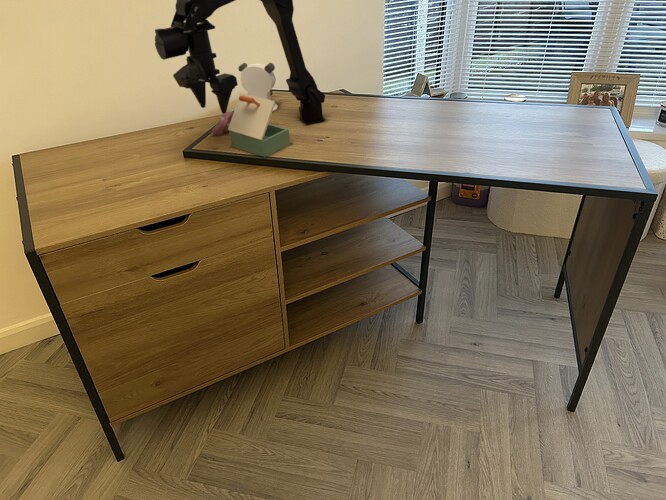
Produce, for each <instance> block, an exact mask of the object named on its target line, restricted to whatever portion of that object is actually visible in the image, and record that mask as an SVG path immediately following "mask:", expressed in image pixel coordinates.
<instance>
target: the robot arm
mask: <svg viewBox="0 0 666 500" xmlns="http://www.w3.org/2000/svg"><path fill="white" fill-rule="evenodd" d="M235 1H236V0H176V2H175V12H174V14H173V18H172V21H171V24H170V27H164V28H155V29H154V33H155V36H154V46H155V50H156V51H157V52H156V53H157V54H158V56H159V57H160V59H161V60H162V61H164V60H168V59H173V58H177V57H182V56H185V55H186V54H187V52H188V55H187V56H186V59H185V60H186V64H185V65H184V66H182V67H180V69H178V70H176V72H174V73H173V75H172V77H173V78H174V80H175V81H176V84H177V85H178V87H180V88H184V89H190V91H191V92H192V94H193V95H194V97H195V99H196V100H197V102H198V104H199V106H200V108H202V109H204V108H206V105H207V94H206V92H207V91H206V90H207V88H206V85H207V84H206V83H209V87H210V89H211V90H210V92H211V93H212V94H214V95H215V97H216V99H217V102H218V106H219V109H220V111H221V114H222V115H223V114H224V113H226V112H228V111H227V110H228V106H229V103H230V99H231V96H232V93H233V90H234V89H236V87H237V86H238V85H239V84H238V80H237V77H236V76H235V75H234V74H230V73H225V72H224V73H221V71H220V69H218V68H216V63H215V58H217V53H216V52H213V49H212V45H211V41H210V36H209V31H211V30H215V29H216V26H215V25H214V24H213V23H211V22H210V21H209V20H208V18H210V17H211V16H212V15H213V14H214V13H215V12H216V11H217V10H218V9H220V8H222V7H224V6H226V5H229V4H231V3H233V2H235ZM259 1H260V2H261V4H262V5H263V8H264V9H265V12H266V14H267V15H268V16H269V18H270V19H271V21H272V22H273V23H274V25H275V27H276V30H277V33H278V36H279V39H280V43H281V46H282V49H283V52H284V56H285V59H286V63H287V65H288V69H289V73H290V74H289V78H286V79H285V81H286V82H285V83H286V85H287V86H288V92H290V93H291V95H293V96H294V97H295V99H296V101H299V107H298V112H299V119H300V120H301V121H302V122H303V123H304V124H305V125H308V126H309V125H313V124H317V123H321V122H325V121H326V119H325V118H324V117H323V116H324V115H323V104H322V103H325V99H326V95H325V93H323V92H322V91H321V90H320V89H318V86H317V83H316V81H315V79H314V77H313V75H312V74H311V72H309V70H308V69H307V67H306V63H305V60H304V56H303V53H302V50H301V46H300V43H299V39H298V36H297V32H296V28H295V25H294V21H293V15H294V10H295V7H294V1H293V0H259Z"/></svg>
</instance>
